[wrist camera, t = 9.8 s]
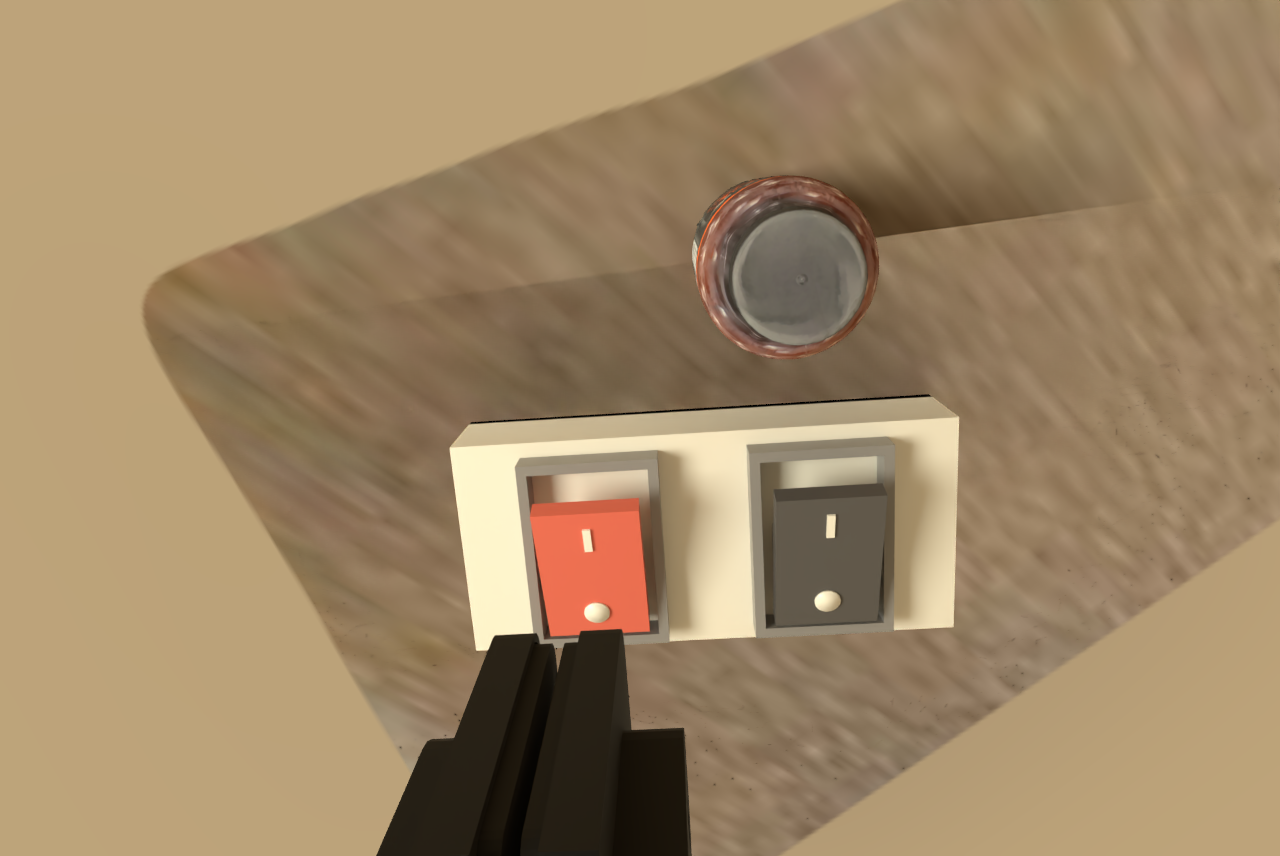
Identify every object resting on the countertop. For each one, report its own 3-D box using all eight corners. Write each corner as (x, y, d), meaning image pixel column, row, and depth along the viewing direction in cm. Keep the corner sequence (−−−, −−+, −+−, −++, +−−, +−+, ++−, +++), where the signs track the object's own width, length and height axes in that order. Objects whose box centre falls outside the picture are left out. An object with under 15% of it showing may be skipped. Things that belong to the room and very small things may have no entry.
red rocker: (639, 478, 33) (638, 512, 32) (649, 595, 37) (650, 633, 35) (536, 484, 34) (529, 518, 32) (555, 600, 37) (550, 638, 35)
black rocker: (874, 463, 33) (888, 497, 31) (865, 585, 36) (877, 622, 34) (769, 470, 33) (776, 503, 31) (769, 590, 36) (775, 627, 34)
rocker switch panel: (928, 394, 38) (969, 425, 33) (925, 585, 40) (962, 641, 35) (471, 422, 38) (442, 456, 33) (494, 607, 41) (470, 665, 36)
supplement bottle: (803, 153, 35) (866, 136, 24) (854, 289, 36) (935, 331, 26) (667, 214, 36) (669, 224, 25) (722, 345, 37) (746, 409, 26)
